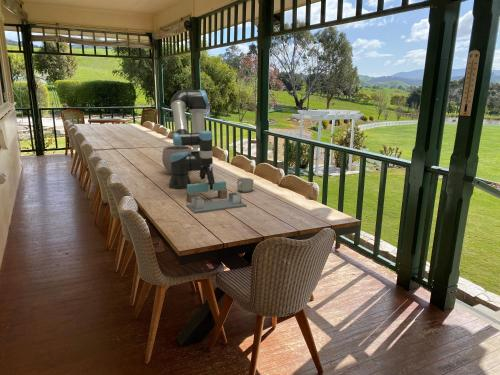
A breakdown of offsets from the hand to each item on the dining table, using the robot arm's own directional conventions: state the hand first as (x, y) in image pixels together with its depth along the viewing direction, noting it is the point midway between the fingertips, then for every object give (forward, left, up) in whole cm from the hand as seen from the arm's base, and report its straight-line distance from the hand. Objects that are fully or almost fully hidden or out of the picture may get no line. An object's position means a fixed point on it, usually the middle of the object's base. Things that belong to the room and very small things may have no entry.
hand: (207, 191), depth 235 cm
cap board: (+16, 0, -4) cm, 17 cm away
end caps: (+16, 0, -4) cm, 17 cm away
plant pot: (-77, +4, -5) cm, 77 cm away
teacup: (-7, +28, -5) cm, 29 cm away
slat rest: (0, 0, -4) cm, 4 cm away
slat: (0, 0, 0) cm, 0 cm away
